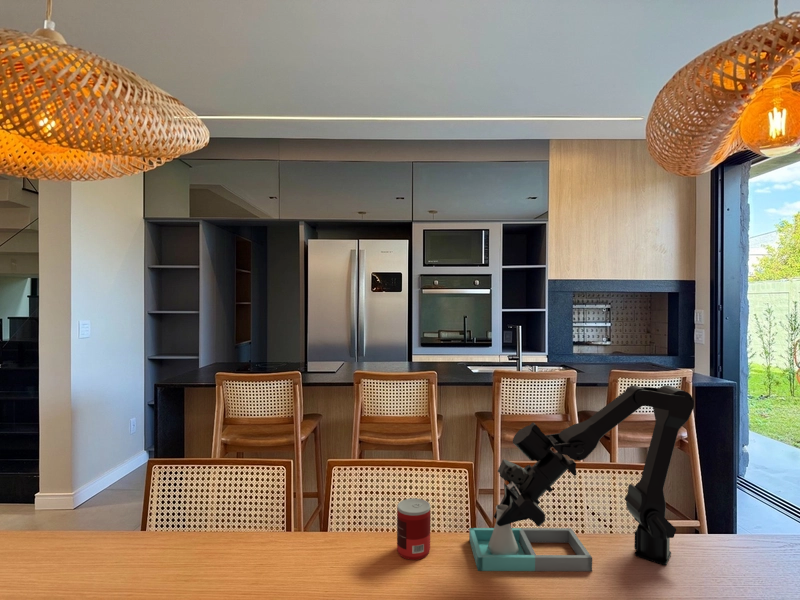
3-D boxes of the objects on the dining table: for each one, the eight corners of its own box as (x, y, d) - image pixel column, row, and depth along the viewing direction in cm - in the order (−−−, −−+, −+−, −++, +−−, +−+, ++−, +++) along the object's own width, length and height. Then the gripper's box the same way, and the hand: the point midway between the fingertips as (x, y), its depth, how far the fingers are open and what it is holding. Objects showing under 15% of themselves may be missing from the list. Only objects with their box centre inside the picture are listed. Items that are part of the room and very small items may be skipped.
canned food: (436, 548, 115) (436, 502, 114) (419, 564, 108) (419, 515, 108) (408, 539, 119) (408, 495, 118) (390, 554, 112) (390, 507, 112)
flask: (516, 542, 115) (516, 500, 115) (521, 559, 108) (520, 515, 108) (485, 541, 116) (485, 499, 116) (488, 557, 109) (488, 513, 108)
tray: (571, 540, 118) (571, 528, 118) (592, 571, 105) (592, 557, 105) (469, 540, 118) (469, 527, 118) (477, 570, 105) (478, 557, 105)
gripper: (510, 437, 121) (466, 481, 121) (530, 464, 102) (478, 516, 102) (541, 468, 121) (497, 512, 121) (567, 500, 102) (515, 552, 103)
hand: (496, 521), depth 112 cm, fingers closed on flask, 3 cm apart
